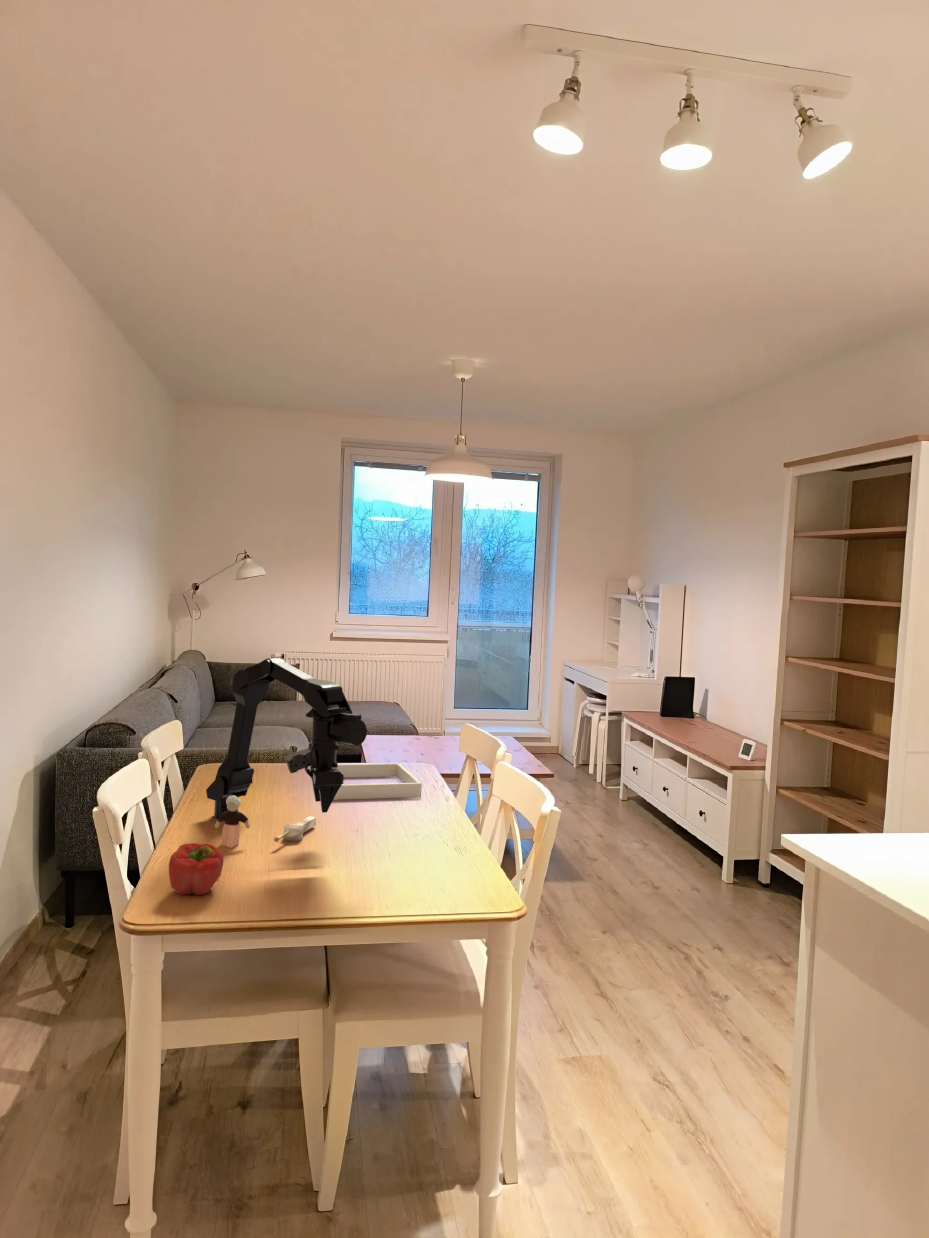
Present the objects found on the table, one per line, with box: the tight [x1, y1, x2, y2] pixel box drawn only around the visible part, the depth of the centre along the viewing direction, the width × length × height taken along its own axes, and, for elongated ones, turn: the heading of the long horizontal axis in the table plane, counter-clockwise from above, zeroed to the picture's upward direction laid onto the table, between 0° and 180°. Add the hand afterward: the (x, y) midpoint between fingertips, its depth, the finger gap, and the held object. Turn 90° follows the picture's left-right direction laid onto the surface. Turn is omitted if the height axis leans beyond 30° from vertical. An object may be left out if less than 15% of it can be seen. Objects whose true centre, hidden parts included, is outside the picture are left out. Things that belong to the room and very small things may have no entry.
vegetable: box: [168, 843, 224, 896], centre depth 161 cm, size 11×10×10 cm
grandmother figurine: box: [214, 795, 251, 848], centre depth 185 cm, size 8×4×13 cm, turn 105°
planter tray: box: [333, 762, 423, 801], centre depth 249 cm, size 26×26×4 cm
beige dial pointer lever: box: [273, 815, 317, 843], centre depth 193 cm, size 19×4×3 cm, turn 165°
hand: (321, 806), depth 188 cm, fingers open, 9 cm apart
